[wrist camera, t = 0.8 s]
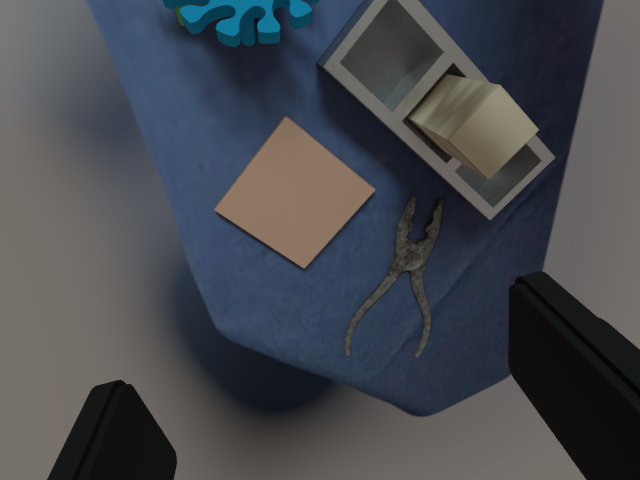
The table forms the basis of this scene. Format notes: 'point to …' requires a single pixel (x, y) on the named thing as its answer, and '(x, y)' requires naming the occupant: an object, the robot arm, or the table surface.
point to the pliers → (405, 268)
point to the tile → (294, 194)
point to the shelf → (420, 92)
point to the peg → (472, 122)
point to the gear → (240, 18)
